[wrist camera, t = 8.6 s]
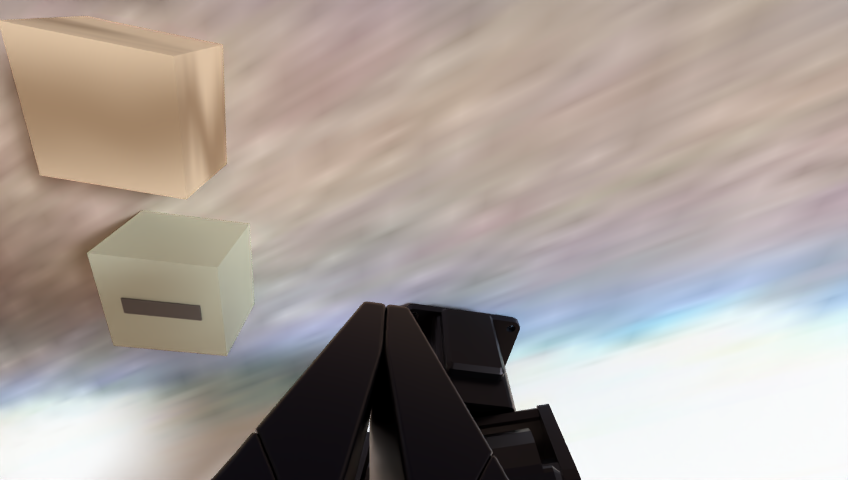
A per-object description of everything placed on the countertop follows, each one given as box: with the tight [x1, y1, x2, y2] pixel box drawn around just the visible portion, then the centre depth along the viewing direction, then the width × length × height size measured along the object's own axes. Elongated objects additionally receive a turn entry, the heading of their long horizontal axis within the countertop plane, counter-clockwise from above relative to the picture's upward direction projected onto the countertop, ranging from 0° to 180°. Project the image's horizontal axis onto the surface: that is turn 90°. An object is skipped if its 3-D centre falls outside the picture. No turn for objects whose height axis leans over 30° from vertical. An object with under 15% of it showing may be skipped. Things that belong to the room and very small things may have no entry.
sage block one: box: [87, 211, 254, 356], centre depth 20 cm, size 5×5×4 cm
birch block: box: [0, 16, 227, 199], centre depth 16 cm, size 5×5×4 cm
